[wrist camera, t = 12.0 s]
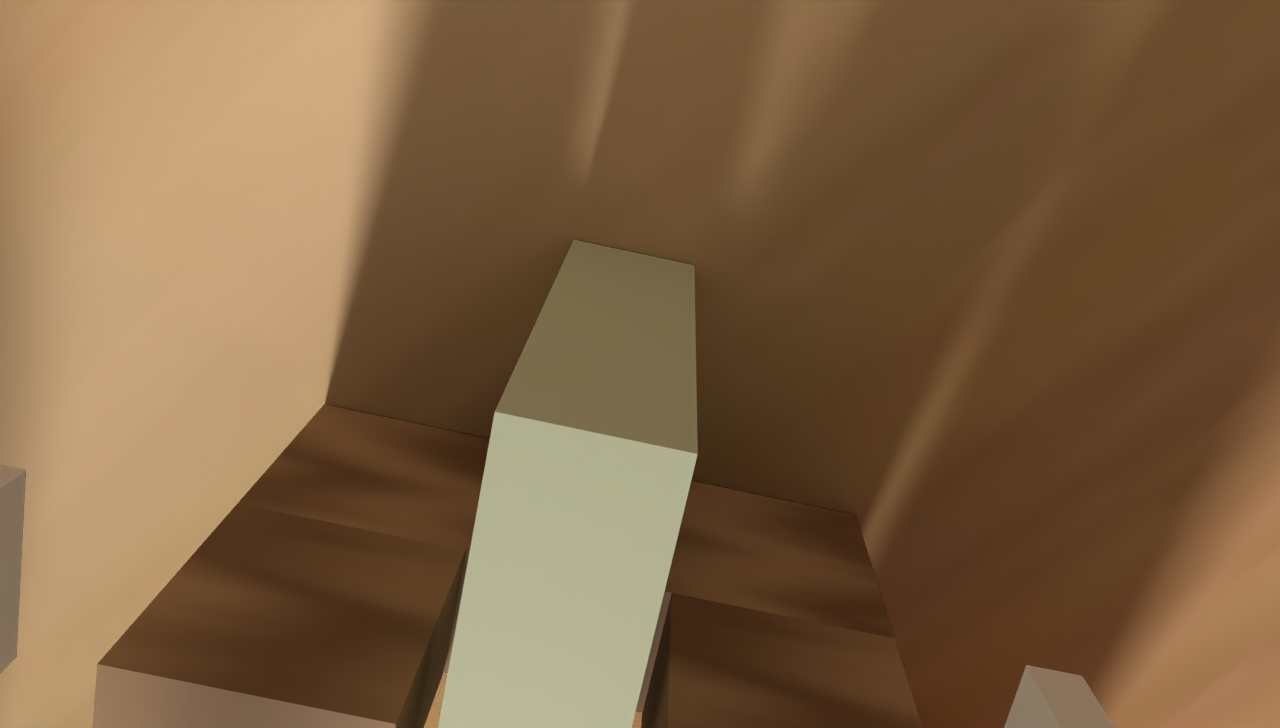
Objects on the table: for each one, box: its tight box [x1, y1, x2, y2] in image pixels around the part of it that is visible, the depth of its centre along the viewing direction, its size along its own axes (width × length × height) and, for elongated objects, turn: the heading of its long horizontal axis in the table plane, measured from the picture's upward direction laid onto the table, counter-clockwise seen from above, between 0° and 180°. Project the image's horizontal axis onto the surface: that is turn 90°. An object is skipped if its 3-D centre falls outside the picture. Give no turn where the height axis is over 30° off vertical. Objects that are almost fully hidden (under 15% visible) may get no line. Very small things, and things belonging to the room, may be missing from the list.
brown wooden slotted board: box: [93, 404, 923, 728], centre depth 25 cm, size 14×3×12 cm, turn 78°
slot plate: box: [438, 240, 698, 728], centre depth 25 cm, size 14×3×12 cm, turn 169°
